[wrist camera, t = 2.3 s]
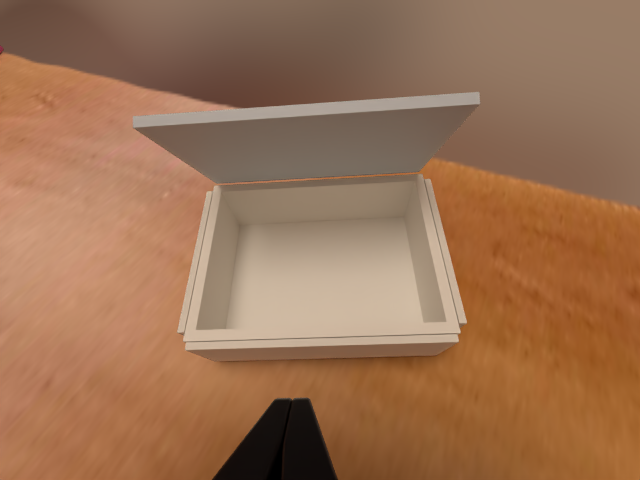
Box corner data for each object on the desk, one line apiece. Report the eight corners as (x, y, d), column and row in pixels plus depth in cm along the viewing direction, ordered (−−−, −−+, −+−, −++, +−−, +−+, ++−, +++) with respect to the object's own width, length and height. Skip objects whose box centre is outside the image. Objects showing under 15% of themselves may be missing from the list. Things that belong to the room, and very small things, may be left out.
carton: (443, 356, 20) (471, 341, 16) (208, 362, 21) (173, 350, 16) (414, 213, 26) (428, 173, 21) (230, 223, 26) (208, 186, 22)
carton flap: (480, 104, 12) (478, 92, 12) (132, 127, 13) (132, 116, 13) (418, 171, 21) (418, 164, 21) (216, 183, 22) (216, 176, 22)
